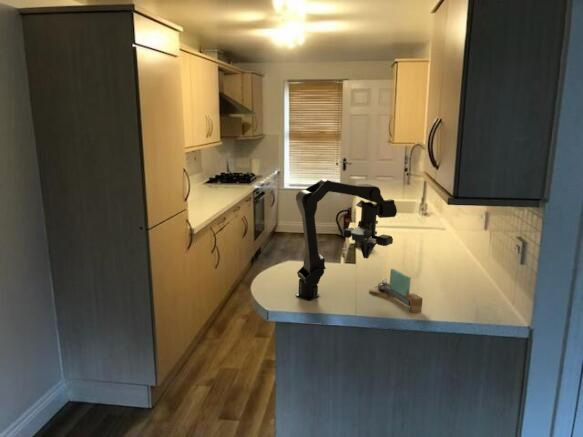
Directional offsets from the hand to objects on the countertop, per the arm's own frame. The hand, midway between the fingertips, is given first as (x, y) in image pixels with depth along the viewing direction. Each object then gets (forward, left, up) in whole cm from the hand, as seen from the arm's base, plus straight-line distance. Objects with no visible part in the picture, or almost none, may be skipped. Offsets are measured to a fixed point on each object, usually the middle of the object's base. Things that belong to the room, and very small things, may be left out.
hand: (365, 258), depth 174 cm
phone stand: (-33, +53, -13) cm, 64 cm away
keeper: (+22, -4, -13) cm, 26 cm away
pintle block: (+7, +3, -13) cm, 15 cm away
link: (+13, 0, -11) cm, 18 cm away
